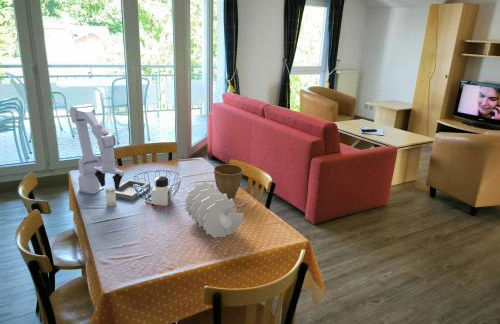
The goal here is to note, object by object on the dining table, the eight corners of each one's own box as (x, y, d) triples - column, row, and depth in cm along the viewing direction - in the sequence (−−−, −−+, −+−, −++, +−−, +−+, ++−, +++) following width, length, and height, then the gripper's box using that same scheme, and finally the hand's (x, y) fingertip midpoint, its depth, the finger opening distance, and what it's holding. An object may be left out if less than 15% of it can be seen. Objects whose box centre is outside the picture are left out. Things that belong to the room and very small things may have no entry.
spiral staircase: (216, 251, 157) (190, 222, 176) (250, 226, 163) (221, 200, 181) (201, 221, 146) (175, 194, 165) (237, 196, 152) (208, 172, 171)
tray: (109, 196, 189) (109, 191, 188) (128, 184, 204) (128, 179, 203) (132, 201, 186) (132, 195, 185) (150, 188, 201) (149, 182, 200)
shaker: (104, 205, 180) (103, 190, 178) (110, 201, 184) (108, 186, 182) (112, 206, 179) (111, 191, 177) (118, 203, 183) (117, 188, 181)
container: (171, 199, 190) (171, 175, 186) (167, 206, 183) (166, 181, 179) (156, 198, 191) (156, 174, 186) (151, 204, 184) (150, 180, 179)
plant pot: (229, 206, 186) (230, 177, 181) (207, 197, 194) (207, 168, 189) (247, 197, 198) (249, 169, 192) (225, 189, 206) (227, 161, 200)
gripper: (88, 160, 172) (91, 188, 177) (116, 165, 169) (118, 192, 173) (98, 156, 179) (100, 182, 183) (125, 160, 175) (127, 187, 180)
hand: (110, 187), depth 179 cm, fingers open, 7 cm apart
